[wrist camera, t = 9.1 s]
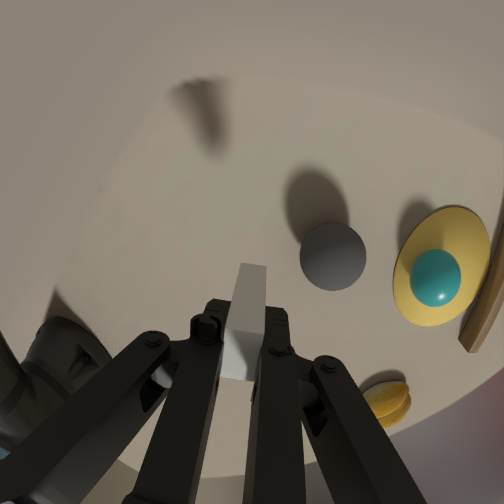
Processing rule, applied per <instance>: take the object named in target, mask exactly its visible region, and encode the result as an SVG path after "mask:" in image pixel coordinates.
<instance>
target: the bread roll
mask: <svg viewBox="0 0 504 504" xmlns="http://www.w3.org/2000/svg"><path fill="white" fill-rule="evenodd" d="M362 395H363V396H364V398H365V400H366V401H367V403H368V404H369V406H370V408H371V409H372V411H373V413H374V414H375V416H376V418H377V419H378V421H379V423H380V424H381V426H382V428H383V429H384V428H387V427H390V426H392V425H394V424H396V423H397V422H399V421H400V420H401V419H402V418H403V417H404V416H405V414H406V413H407V412H408V410H409V408H410V405H411V397H410V395H409V393H408V387H407V385H406V384H405V383H404V382H403V381H390V382H383V383H379V384H377V385H374V386H372V387H371V388H370V389H368V390H367V391H365V392H364V393H363V394H362Z"/></svg>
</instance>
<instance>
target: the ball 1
mask: <svg viewBox="0 0 504 504" xmlns="http://www.w3.org/2000/svg"><path fill="white" fill-rule="evenodd" d="M300 264H301V268H302V271H303V273H304V274H305V276H306V277H307V279H308V280H309V281H310V282H311V283H312V284H314V285H315V286H317V287H319V288H321V289H324V290H329V291H336V290H342V289H345V288H347V287H349V286H351V285H352V284H353V283H355V282H356V281H357V280H358V278H359V277H360V276H361V274H362V272H363V270H364V267H365V264H366V249H365V246H364V243H363V241H362V239H361V238H360V236H359V235H358V234H357V233H356V232H355V231H354V230H353V229H352V228H350V227H348V226H346V225H344V224H340V223H325V224H322V225H320V226H318V227H316V228H314V229H313V230H312V231H311V232H310V233H309V234H308V235H307V236H306V238H305V239H304V241H303V243H302V246H301V249H300Z"/></svg>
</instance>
